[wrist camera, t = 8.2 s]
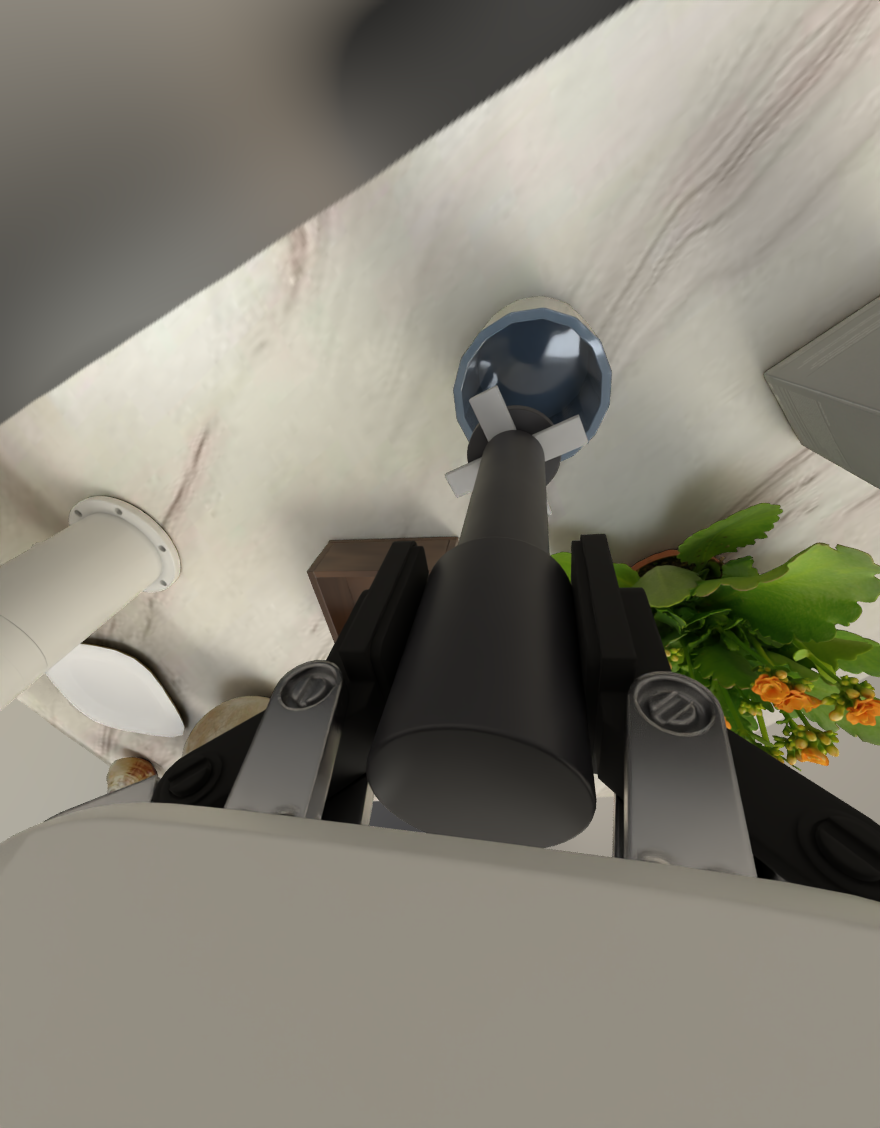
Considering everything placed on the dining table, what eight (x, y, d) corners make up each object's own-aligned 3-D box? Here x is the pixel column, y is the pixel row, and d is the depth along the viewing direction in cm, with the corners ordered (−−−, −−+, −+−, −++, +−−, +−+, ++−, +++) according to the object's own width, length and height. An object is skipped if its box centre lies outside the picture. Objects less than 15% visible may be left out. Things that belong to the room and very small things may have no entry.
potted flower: (486, 591, 44) (461, 746, 30) (678, 391, 31) (795, 504, 17) (667, 704, 49) (719, 885, 35) (905, 572, 35) (1149, 783, 21)
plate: (94, 717, 77) (86, 725, 76) (22, 628, 65) (11, 636, 63) (201, 734, 73) (195, 743, 72) (147, 643, 61) (138, 652, 60)
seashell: (119, 751, 84) (84, 792, 77) (131, 744, 81) (96, 786, 74) (161, 776, 87) (131, 818, 80) (174, 771, 84) (144, 813, 78)
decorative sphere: (253, 736, 70) (194, 834, 58) (207, 673, 62) (127, 772, 50) (335, 739, 66) (289, 846, 54) (296, 672, 58) (233, 780, 46)
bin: (361, 635, 52) (345, 670, 47) (329, 540, 44) (306, 571, 40) (472, 638, 48) (465, 676, 44) (457, 536, 41) (448, 569, 37)
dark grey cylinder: (481, 529, 21) (410, 883, 9) (422, 419, 19) (216, 711, 7) (604, 483, 19) (727, 882, 7) (556, 350, 16) (617, 610, 4)
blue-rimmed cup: (479, 429, 35) (463, 474, 28) (467, 306, 30) (444, 322, 23) (591, 419, 33) (605, 464, 26) (597, 286, 28) (617, 296, 21)
